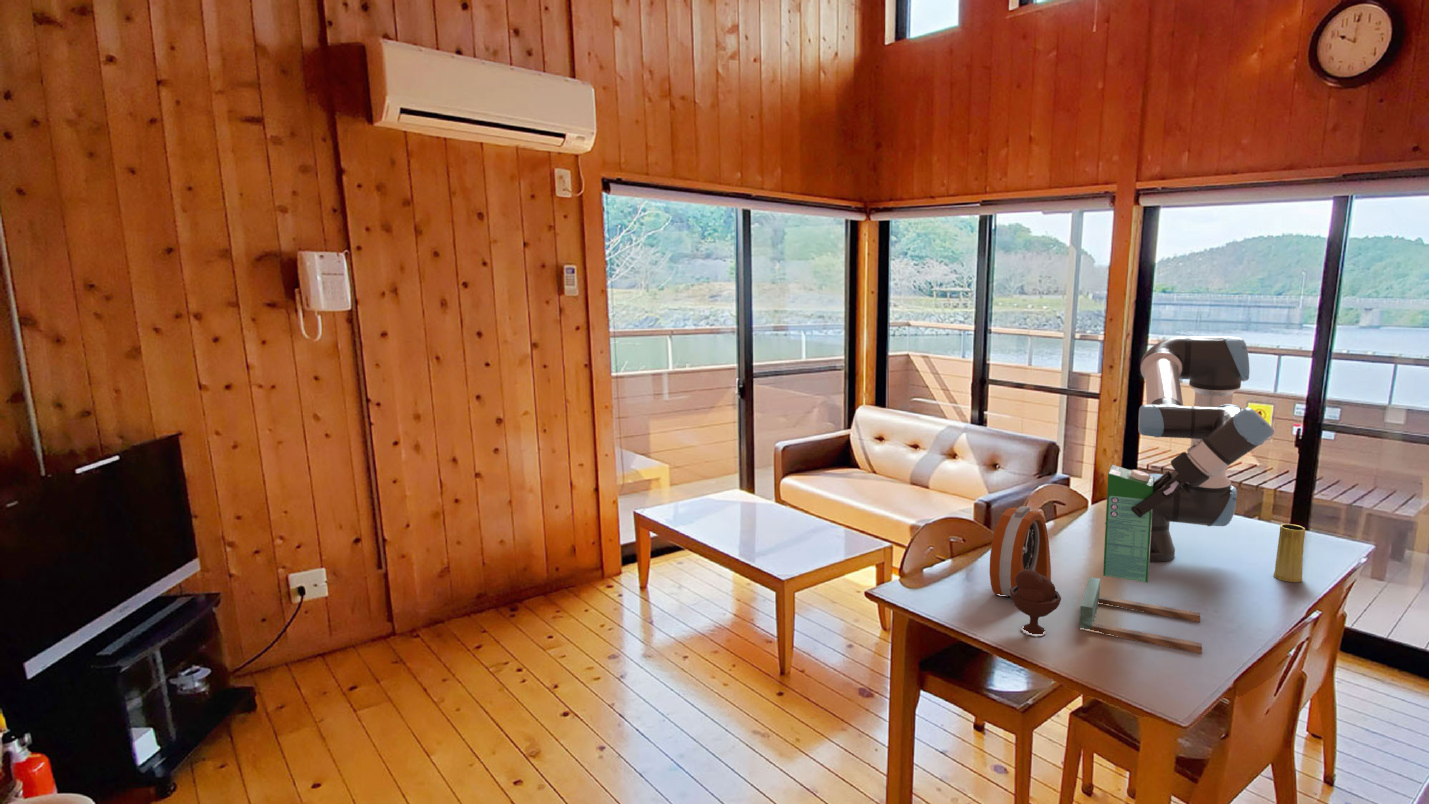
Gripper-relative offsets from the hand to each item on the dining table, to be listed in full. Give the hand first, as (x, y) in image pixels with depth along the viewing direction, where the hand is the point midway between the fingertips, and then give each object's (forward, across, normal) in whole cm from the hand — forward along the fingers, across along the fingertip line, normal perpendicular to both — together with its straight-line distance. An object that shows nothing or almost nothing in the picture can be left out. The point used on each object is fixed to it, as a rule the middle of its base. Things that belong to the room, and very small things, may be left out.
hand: (1110, 524), depth 175 cm
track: (+11, 0, +22) cm, 25 cm away
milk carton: (+5, 0, +11) cm, 12 cm away
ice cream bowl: (+27, +15, +7) cm, 31 cm away
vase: (-11, -47, +45) cm, 66 cm away
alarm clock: (+31, -8, +2) cm, 32 cm away
